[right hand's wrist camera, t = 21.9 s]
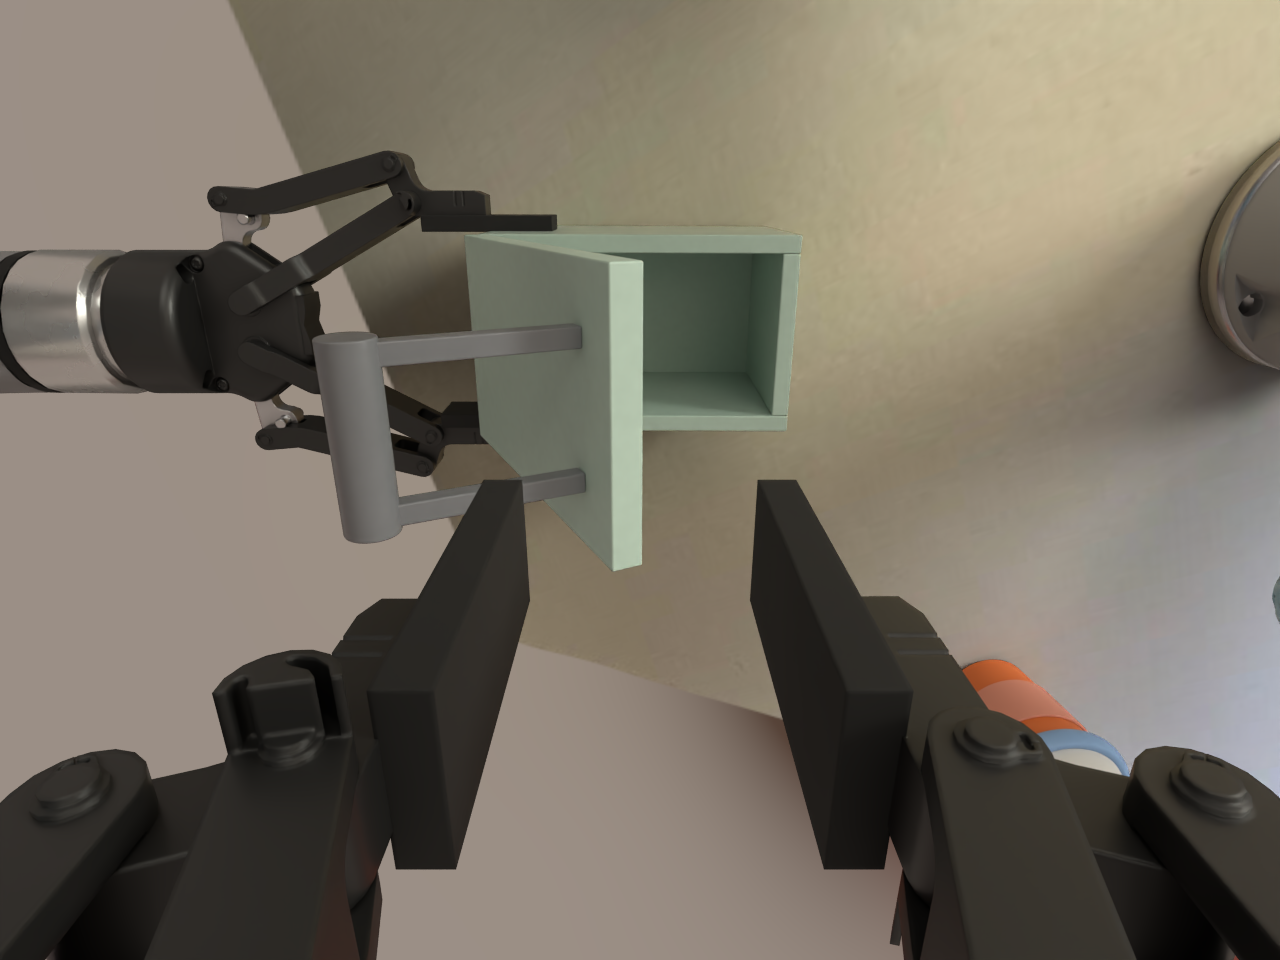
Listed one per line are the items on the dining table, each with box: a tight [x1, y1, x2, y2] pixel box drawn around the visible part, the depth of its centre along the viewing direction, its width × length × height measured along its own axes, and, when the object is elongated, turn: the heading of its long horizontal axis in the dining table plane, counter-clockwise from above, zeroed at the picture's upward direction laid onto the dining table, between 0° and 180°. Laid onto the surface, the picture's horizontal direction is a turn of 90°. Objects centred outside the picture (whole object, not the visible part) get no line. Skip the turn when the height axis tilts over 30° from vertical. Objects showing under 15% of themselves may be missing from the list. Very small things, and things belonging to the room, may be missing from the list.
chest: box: [479, 225, 802, 431], centre depth 40 cm, size 15×10×11 cm, turn 90°
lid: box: [312, 234, 643, 571], centre depth 27 cm, size 16×10×9 cm
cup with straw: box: [962, 660, 1130, 776], centre depth 48 cm, size 9×9×18 cm
